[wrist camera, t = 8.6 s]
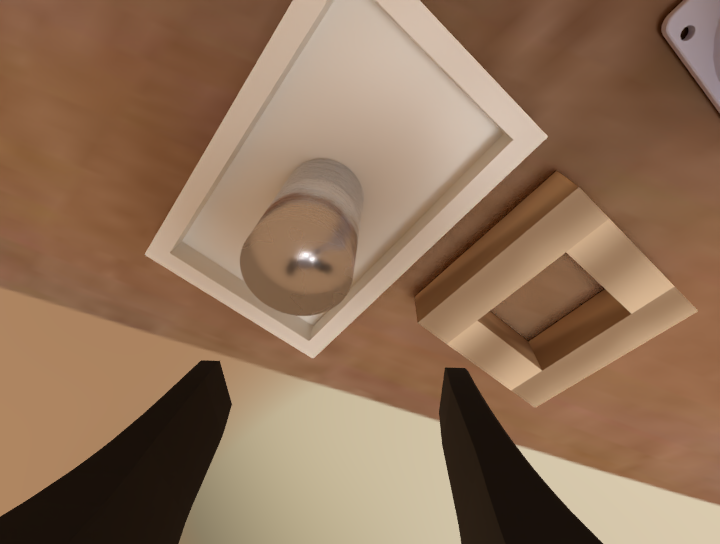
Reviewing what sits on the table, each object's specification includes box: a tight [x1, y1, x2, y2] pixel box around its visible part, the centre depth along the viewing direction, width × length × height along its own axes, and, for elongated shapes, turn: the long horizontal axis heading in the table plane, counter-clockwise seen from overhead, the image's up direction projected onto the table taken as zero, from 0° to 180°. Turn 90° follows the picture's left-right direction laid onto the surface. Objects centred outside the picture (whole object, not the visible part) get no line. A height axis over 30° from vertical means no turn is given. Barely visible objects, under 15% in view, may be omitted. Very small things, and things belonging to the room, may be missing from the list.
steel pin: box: [240, 158, 364, 316], centre depth 16 cm, size 4×4×7 cm
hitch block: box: [415, 171, 698, 407], centre depth 21 cm, size 10×10×2 cm
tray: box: [145, 0, 548, 358], centre depth 19 cm, size 11×17×2 cm, turn 141°
